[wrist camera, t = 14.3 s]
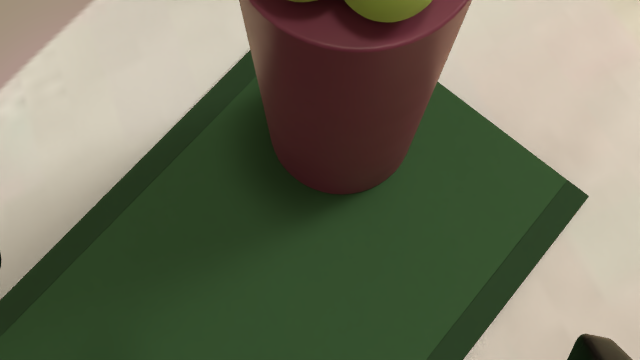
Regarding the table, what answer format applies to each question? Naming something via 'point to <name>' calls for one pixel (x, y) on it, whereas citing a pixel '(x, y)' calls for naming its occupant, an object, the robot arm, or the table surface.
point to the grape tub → (347, 81)
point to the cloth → (292, 247)
